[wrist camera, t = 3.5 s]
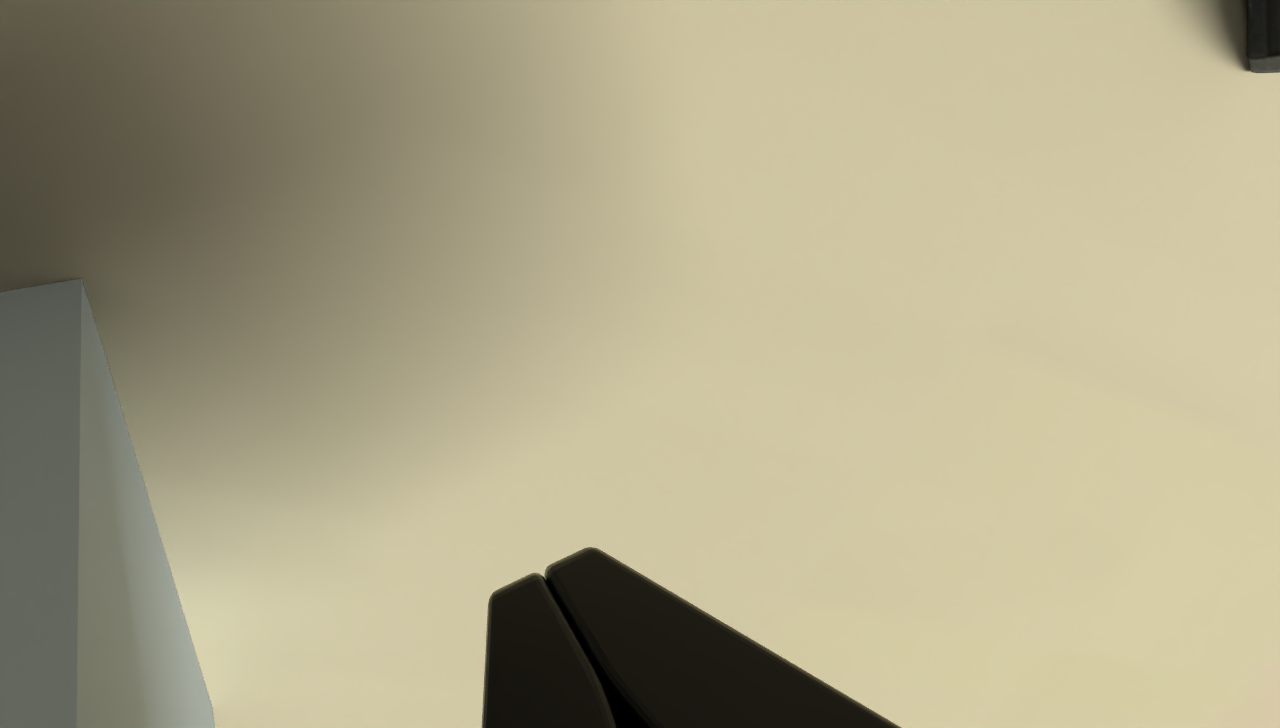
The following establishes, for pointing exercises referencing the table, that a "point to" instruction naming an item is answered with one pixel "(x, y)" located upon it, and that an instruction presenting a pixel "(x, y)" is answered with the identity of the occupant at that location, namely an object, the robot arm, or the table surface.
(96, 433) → the block
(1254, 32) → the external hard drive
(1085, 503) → the table surface
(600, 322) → the table surface
